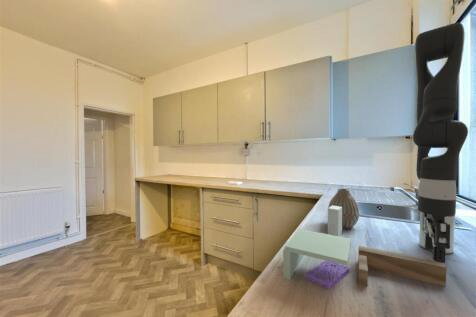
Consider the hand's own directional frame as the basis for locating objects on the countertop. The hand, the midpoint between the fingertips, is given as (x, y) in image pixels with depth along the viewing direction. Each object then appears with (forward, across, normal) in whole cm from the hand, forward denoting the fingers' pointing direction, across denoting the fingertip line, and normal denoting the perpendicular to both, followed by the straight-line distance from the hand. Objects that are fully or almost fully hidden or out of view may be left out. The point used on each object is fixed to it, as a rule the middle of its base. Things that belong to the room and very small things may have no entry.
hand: (434, 255), depth 58 cm
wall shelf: (+8, -12, +27) cm, 30 cm away
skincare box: (+7, +20, +27) cm, 34 cm away
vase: (+7, +34, +25) cm, 42 cm away
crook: (+7, -5, +8) cm, 12 cm away
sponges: (+8, -12, +25) cm, 29 cm away
